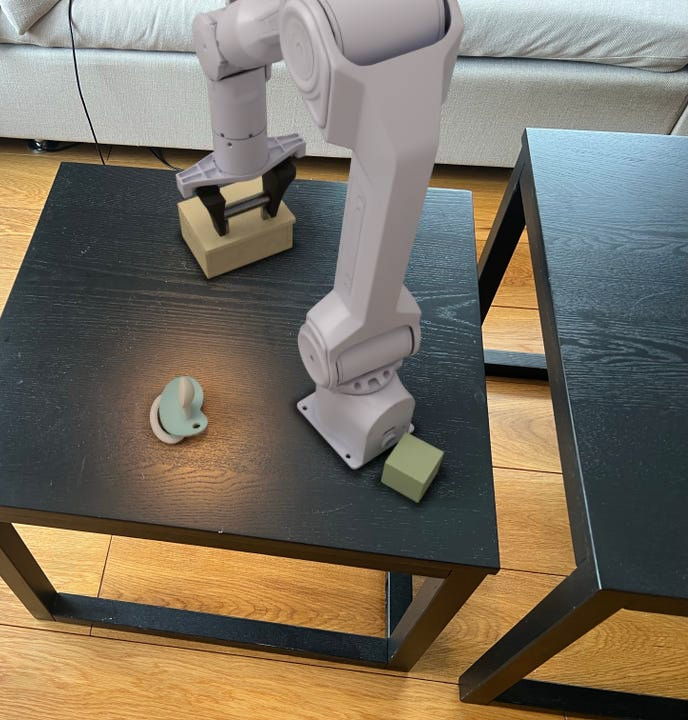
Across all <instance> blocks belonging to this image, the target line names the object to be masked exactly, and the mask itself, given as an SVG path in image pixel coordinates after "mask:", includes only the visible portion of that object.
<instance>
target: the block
mask: <svg viewBox="0 0 688 720" xmlns="http://www.w3.org/2000/svg"><path fill="white" fill-rule="evenodd" d="M444 454H445V452H444V451H442V450H441V449H439V448H437V447H435V446H433V445H432V444H430V443H427V442H425V441H424V440H422V439H420V438H418V437H416V436H414V435H412V433H411V434H409V433H407V432H405V433H404V435H403V436H402V438H401V439H400V441H399V442H397V443H396V444H395V447H394V448H393V450H392V451H391V453H390V454H389V455H388V457H387V458H386V459H385V461H384V465H383V471H382V475H381V480H380V482H381V483H382V484H384V485H385V486H387V487H389V488H391V489H393V490H395V491H396V492H398V493H400V494H402V495H403V496H405V497H407V498H408V499H410V500H412V501H414V502H415V503H417V504H418V503H420V501H421V500H422V498H423V496H424V494H425V493H426V491H427V490H428V489H429V486H430V485H431V484H432V482H433V480H434V479H435V477H436V475H438V472H439V470H440V466H441V463H442V461H443V457H444Z"/></svg>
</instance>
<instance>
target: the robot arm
mask: <svg viewBox="0 0 688 720" xmlns="http://www.w3.org/2000/svg"><path fill="white" fill-rule="evenodd" d="M224 4H225V6H224V7H221V8H218V9H214V10H212V11H208V12H198V13H196V14H195V17H194V18H193V21H192V23H191V33H192V41H193V46H194V50H195V54H196V58H197V60H198V63H199V65H200V67H201V69H202V71H203V73H204V75H205V76H206V85H207V93H208V94H207V95H208V105H209V115H210V125H211V135H212V144H213V151H212V152H211V153H209V154H207V156H204V157H203V158H202V159H201V160H199V161H197V162H196V163H195V164H193V165H192V166H190V167H188V168H187V169H185V170H183V171H180V172H178V173H176V174H175V179H176V186H177V190H178V191H179V193H180V194H181V196H182V197H183V199H187V198H190V197H192V196H193V195H194V193H195V195H196V197H197V196H198V197H199V199H200V200H201V202H202V203H203V205H204V206H205V207H206V209H207V210H208V212H209V215H210V217H211V220H212V223H213V227H214V228H215V230H216V232H217V233H218V235H219V236H220V237H222V236H225V235H226V226H225V219H224V212H225V204H226V200H225V198H224V197H223V195H222V194H221V192H220V188H221V187H219V186H218V185H224V184H234V183H237V182H245V181H250V180H254V179H256V178H258V177H260V176H262V185H263V191H267V192H268V193H269V196H270V199H271V203H270V204H268V214H269V216H270V217H271V218H274V217H276V216H277V212H278V209H279V206H280V203H281V200H282V199H283V198H284V195H285V193H286V192H287V189H288V188H289V187H290V185H291V184H292V182H293V181H294V180H295V179H296V177H297V166H296V165H295V164H294V163H293V162H292V157H294V158H297V159H300V158H303V157H306V156H307V141H306V139H304V137H303V136H302V135H301V134H300V132H299V131H295V132H293V133H289V134H284V135H275V136H268V109H267V107H268V105H267V104H268V103H267V83H268V82H269V80H271V78H272V66H273V64H276V63H279V62H281V61H283V62H284V64H285V65H284V66H285V67H286V70H287V72H288V74H289V77H290V79H291V80H292V82H293V83H294V85H295V87H296V88H297V91H298V92H299V94H300V97H301V99H302V101H303V103H304V104H305V108H306V109H307V111H308V113H309V115H310V117H311V119H312V121H313V123H314V124H315V125H316V127H317V128H318V130H319V132H320V134H321V136H322V139H323V140H324V142H325V143H326V144H331V145H334V146H337V147H342V148H345V149H348V150H351V151H352V153H351V160H350V167H349V174H348V181H347V189H346V196H345V203H344V204H345V205H344V211H343V217H342V225H341V226H342V227H341V232H340V240H339V247H338V255H337V260H336V267H335V277H334V283H333V288H332V290H331V291H330V292H328V294H326V295H325V296H324V297H323V298H322V299H321V300H320V301H318V302H317V303H316V304H314V306H313V307H311V309H310V310H308V312H306V316H305V317H306V319H305V322H304V323H303V324H302V325H301V326H300V328H299V332H298V334H297V346H298V347H297V348H298V351H299V355H300V357H301V360H302V363H303V366H304V367H305V369H306V372H307V373H308V375H309V376H310V378H311V380H312V381H313V382H314V383H315V391H314V392H313V393H311V394H309V395H307V396H306V397H305V398H303V399H301V400H300V401H298V402H297V403H296V404H297V405H296V408H297V410H298V411H299V412H300V413H301V414H302V415H303V416H304V418H305V419H306V420H307V421H308V422H309V423H310V424H311V425H312V426H313V428H315V430H316V431H317V432H318V434H319V435H320V436H321V437H322V438H323V439H324V440H325V441H326V442H327V443H328V444H329V446H331V448H332V449H333V450H334V451H335V452H336V453H337V455H339V456H340V457H341V459H342V460H343V462H345V463H346V465H347V466H348V467H349V468H350V469H351V470H358V469H360V468H361V467H363V466H364V465H366V464H367V463H368V462H370V461H372V460H374V459H375V458H376V457H378V456H379V455H381V454H382V453H383V452H385V451H387V450H388V449H390V448H391V447H393V446H394V445H397V444H398V442H399V441H400V439H401V438H402V436H403V435H404V433H405V432H407V433H409V434H411V435H412V433H413V432H414V430H415V426H414V425H413V423H412V419H413V415H414V410H415V406H416V400H415V398H414V396H413V395H412V394H411V393H410V392H409V391H408V390H407V389H406V388H405V385H403V383H402V381H401V379H400V377H399V375H398V372H397V369H399V368H400V367H402V366H403V362H404V358H409V357H413V356H415V355H416V354H417V353H418V352H419V350H420V346H421V341H422V332H421V326H420V320H421V317H422V310H421V308H420V306H419V304H418V302H417V301H416V298H415V297H414V296H413V294H412V293H411V291H409V289H408V288H407V286H405V284H404V281H405V277H406V273H407V270H408V265H409V261H410V258H411V253H412V250H413V247H414V243H415V238H416V235H417V231H418V227H419V223H420V220H421V215H422V212H423V208H424V204H425V201H426V196H427V193H428V189H429V185H430V182H431V179H432V174H433V170H434V169H433V168H434V166H435V161H436V158H437V154H438V149H439V144H440V132H441V118H442V106H443V105H444V104H445V103H446V101H447V100H448V99H447V98H448V94H449V90H450V87H451V82H452V79H453V74H454V70H455V67H456V63H457V60H458V59H457V58H458V55H459V51H460V47H461V43H462V41H463V40H462V39H463V36H464V32H465V27H466V24H465V21H464V18H463V14H462V11H461V8H460V4H459V1H458V0H225V2H224ZM282 201H283V200H282ZM349 457H350V458H349Z"/></svg>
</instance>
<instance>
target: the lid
mask: <svg viewBox="0 0 688 720" xmlns="http://www.w3.org/2000/svg"><path fill="white" fill-rule="evenodd" d="M219 188H220V192H221V194H222V195H223V197H224V198H225V200H226V204H225V212H224V219H225V226H226V235H225V236H222V237H220V236H219V235H218V233H217V232H216V230H215V228H214V227H213V223H212V220H211V217H210V215H209V212H208V210H207V209H206V207H205V206H204V205H203V203H202V202H201V200H200V199H199V197H198V196H197V195H196V196H194V197H192V198H188V199H186V200H183V201H180V202H178V203H177V209H178V208H179V210H180V212H181V213H182V215H183V216H184V218H185V220H186V221H187V223H188V225H189V226H190V228H191V229H192V231H193V233H194V234H195V236H196V238H197V239H198V241H199V242H200V244H201V246H202V247H203V249H204V251H205V252H206V254H207V255H209V254H212V253H215V252H217V251H220V250H223V249H226V248H228V247H231V246H234V245H236V244H239V243H242V242H244V241H247V240H250V239H253V238H255V237H258V236H261V235H263V234H266V233H269V232H271V231H274V230H277V229H280V228H282V227H285V226H288V225H290V224H295V223H297V219H296V216H295V215H294V213H292V212H291V210H290V209H289V207H288V206H287V205H286V204H285V202H284V201H283V200H281V203H280V206H279V209H278V212H277V216H276V217H274V218H271V217H270V216H269V214H268V204H270V203H271V199H270V196H269V193H268V192H267V191H263V185H262V176H260V177H258V178H256V179H254V180H250V181H245V182H236V183H230V184H228V185H226V186H222V187H219Z"/></svg>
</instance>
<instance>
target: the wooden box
mask: <svg viewBox="0 0 688 720" xmlns="http://www.w3.org/2000/svg"><path fill="white" fill-rule="evenodd" d="M177 211H178V217H179V225H180V230H181V236H182V238H183V240H184V241H185V242H186V244H187V246H188V248H189V249H190V251H191V253H192V254H193V256H194V258H195V259H196V261H197V263H198V264H199V266H200V268H201V269H202V271H203V273H204V274H205V276H206V278H207V279H212V278H215V277H218V276H220V275H223V274H225V273H228V272H230V271H233V270H235V269H238V268H241V267H243V266H246V265H249V264H251V263H254V262H258V261H259V260H262V259H264V258H268V257H270V256H273V255H275V254H278V253H281V252H284V251H286V250H289V249H291V248H293V235H294V234H293V233H294V231H293V230H294V229H293V226H294V225H293V224H294V223H293V224H290V225H288V226H285V227H282V228H280V229H277V230H274V231H271V232H269V233H266V234H263V235H261V236H258V237H255V238H253V239H250V240H247V241H244V242H242V243H239V244H236V245H234V246H231V247H228V248H226V249H223V250H220V251H217V252H215V253H212V254H209V255H207V254H206V252H205V251H204V249H203V247H202V246H201V244H200V242H199V241H198V239H197V238H196V236H195V234H194V233H193V231H192V229H191V228H190V226H189V225H188V223H187V221H186V220H185V218H184V216H183V215H182V213H181V212H180V210H179V208H178V207H177Z"/></svg>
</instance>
